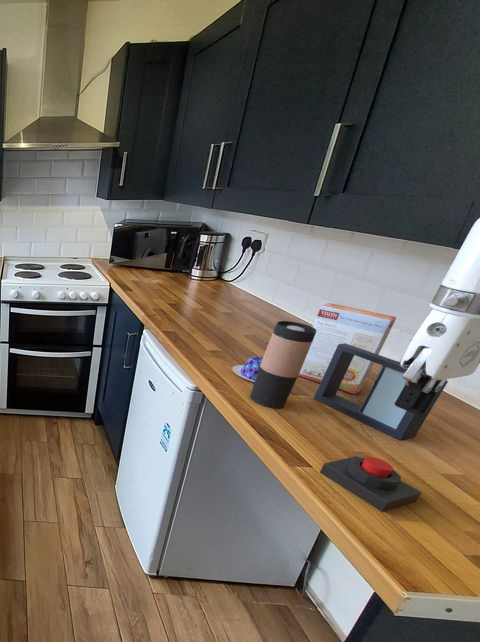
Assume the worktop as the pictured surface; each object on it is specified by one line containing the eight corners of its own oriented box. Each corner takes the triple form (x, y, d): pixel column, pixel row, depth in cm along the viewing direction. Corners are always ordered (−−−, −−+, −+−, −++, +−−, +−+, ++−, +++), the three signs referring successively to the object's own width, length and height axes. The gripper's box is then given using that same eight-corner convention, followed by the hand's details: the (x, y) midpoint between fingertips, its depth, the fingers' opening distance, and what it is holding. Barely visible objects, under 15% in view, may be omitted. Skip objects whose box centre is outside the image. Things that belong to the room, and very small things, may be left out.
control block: (416, 502, 70) (427, 484, 68) (381, 512, 67) (393, 494, 65) (351, 464, 78) (360, 448, 77) (319, 472, 76) (327, 455, 74)
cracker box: (361, 390, 107) (398, 316, 99) (354, 395, 104) (392, 320, 96) (300, 369, 118) (329, 301, 109) (291, 374, 115) (321, 304, 106)
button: (393, 476, 70) (398, 468, 69) (379, 479, 69) (384, 471, 68) (369, 462, 73) (374, 455, 73) (356, 466, 72) (360, 458, 72)
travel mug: (242, 392, 104) (268, 319, 95) (271, 394, 103) (301, 321, 95) (260, 408, 97) (291, 331, 88) (292, 410, 97) (326, 333, 88)
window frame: (414, 437, 88) (451, 376, 82) (399, 440, 86) (436, 378, 80) (327, 396, 103) (352, 342, 97) (313, 398, 102) (338, 344, 96)
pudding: (223, 372, 114) (229, 356, 112) (244, 364, 120) (249, 348, 118) (270, 391, 105) (277, 373, 103) (290, 380, 111) (297, 363, 109)
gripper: (476, 313, 53) (407, 428, 61) (538, 308, 57) (466, 416, 65) (406, 297, 60) (352, 403, 67) (466, 293, 64) (409, 393, 71)
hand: (408, 409), depth 66 cm, fingers closed
